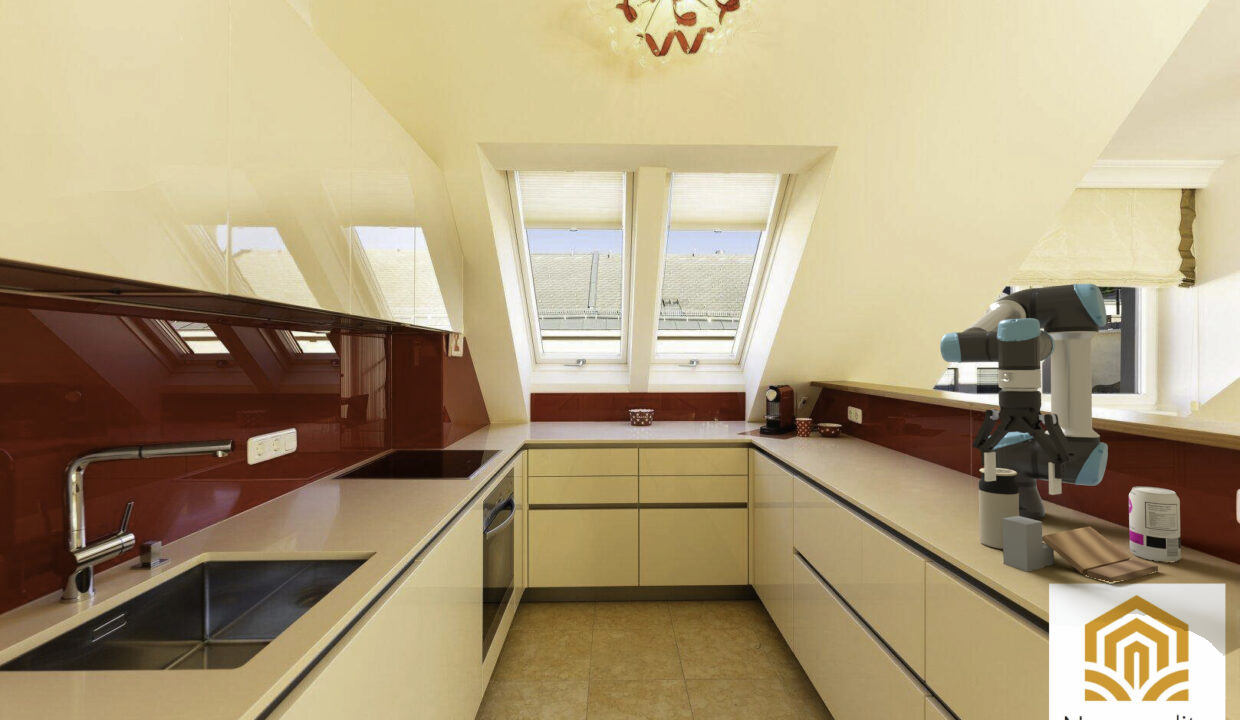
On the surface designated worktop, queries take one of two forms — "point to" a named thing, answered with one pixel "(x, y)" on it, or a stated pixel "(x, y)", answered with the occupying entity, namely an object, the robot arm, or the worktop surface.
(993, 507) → the travel mug
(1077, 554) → the plank
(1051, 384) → the robot arm
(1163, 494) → the supplement can
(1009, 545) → the block
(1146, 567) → the laid row
